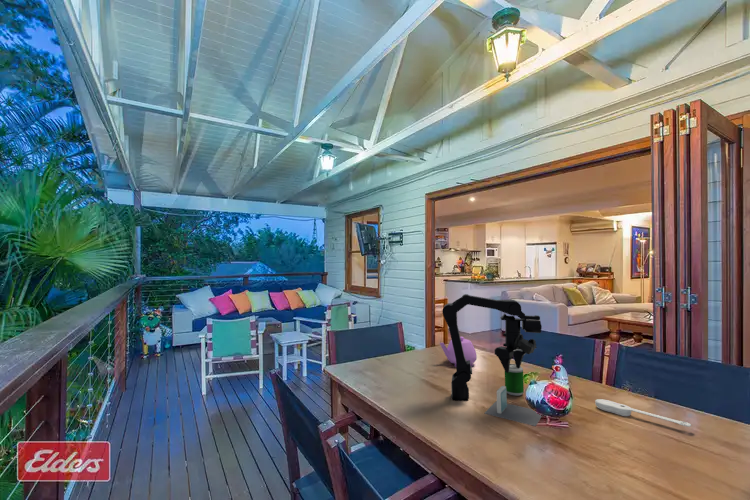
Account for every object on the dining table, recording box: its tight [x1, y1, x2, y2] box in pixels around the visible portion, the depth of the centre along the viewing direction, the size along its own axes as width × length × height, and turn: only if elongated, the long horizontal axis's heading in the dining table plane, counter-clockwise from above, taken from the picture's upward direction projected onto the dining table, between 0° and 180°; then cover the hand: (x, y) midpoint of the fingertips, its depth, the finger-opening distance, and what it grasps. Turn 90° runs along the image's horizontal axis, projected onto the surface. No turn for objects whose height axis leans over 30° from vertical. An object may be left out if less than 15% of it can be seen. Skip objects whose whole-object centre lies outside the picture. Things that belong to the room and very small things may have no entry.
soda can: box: [504, 363, 525, 397], centre depth 151 cm, size 8×8×12 cm
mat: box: [484, 400, 543, 427], centre depth 132 cm, size 18×14×1 cm
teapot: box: [439, 335, 477, 368], centre depth 197 cm, size 20×20×15 cm
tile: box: [496, 385, 508, 414], centre depth 134 cm, size 2×7×8 cm, turn 144°
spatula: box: [594, 398, 692, 427], centre depth 126 cm, size 28×6×3 cm, turn 39°
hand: (512, 370), depth 142 cm, fingers open, 9 cm apart
